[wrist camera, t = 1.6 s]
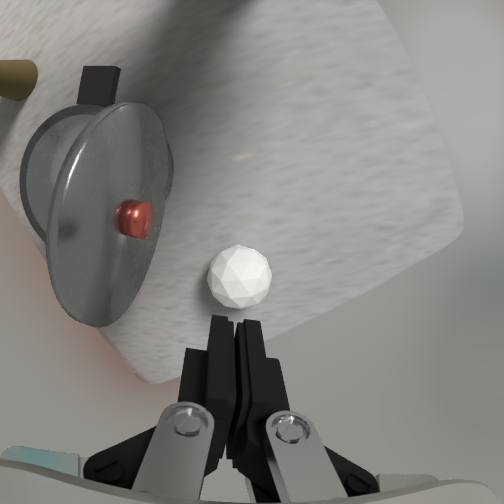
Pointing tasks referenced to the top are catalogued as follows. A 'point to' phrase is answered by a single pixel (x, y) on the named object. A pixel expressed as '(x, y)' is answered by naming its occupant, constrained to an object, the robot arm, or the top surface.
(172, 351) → the top surface
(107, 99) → the pot
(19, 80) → the cork
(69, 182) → the lid
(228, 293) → the geometric ball
